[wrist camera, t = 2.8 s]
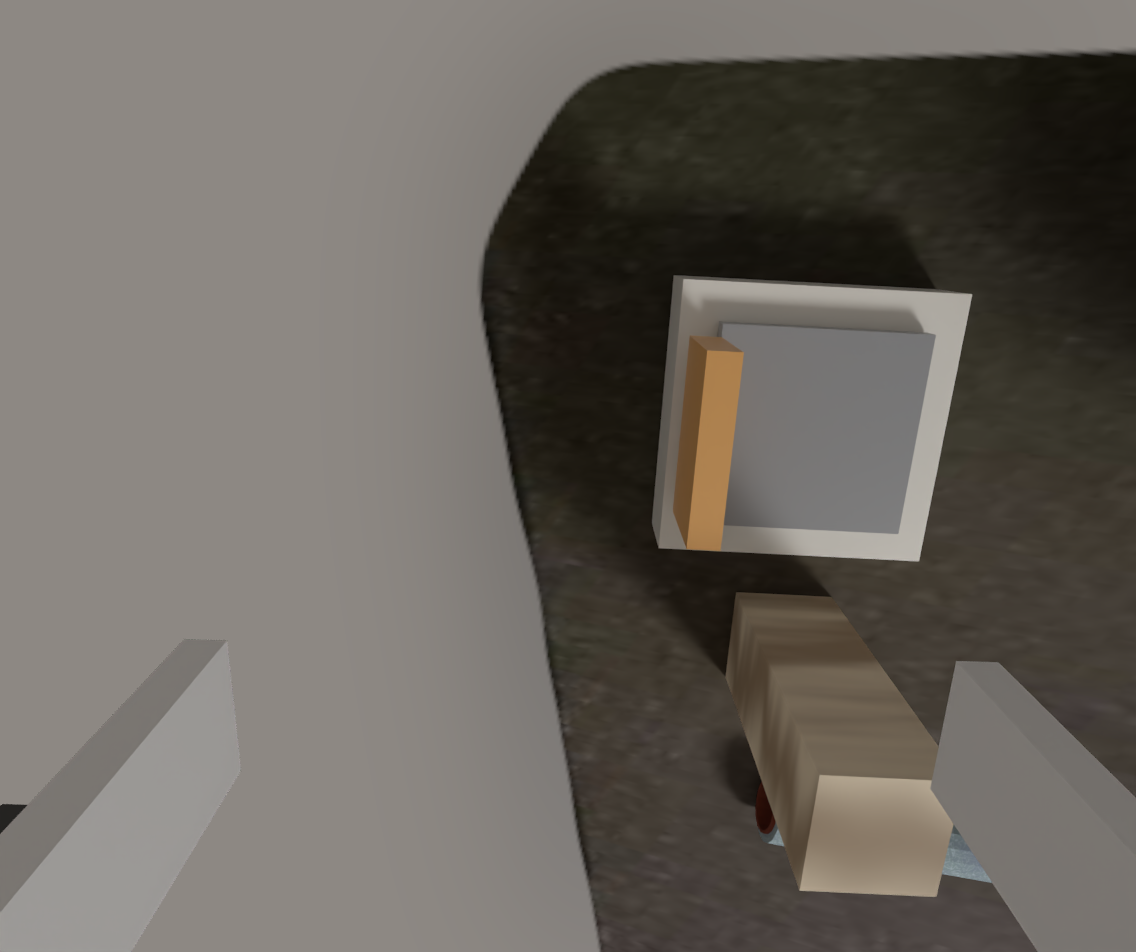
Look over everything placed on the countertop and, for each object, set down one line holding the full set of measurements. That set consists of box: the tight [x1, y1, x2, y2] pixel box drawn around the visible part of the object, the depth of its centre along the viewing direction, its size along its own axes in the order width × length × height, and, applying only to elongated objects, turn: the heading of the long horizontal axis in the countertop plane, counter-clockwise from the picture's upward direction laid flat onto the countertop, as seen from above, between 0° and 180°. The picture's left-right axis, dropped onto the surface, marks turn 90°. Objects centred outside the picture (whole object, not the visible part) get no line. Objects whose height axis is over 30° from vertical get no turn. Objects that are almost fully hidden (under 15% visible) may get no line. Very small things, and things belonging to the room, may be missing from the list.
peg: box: [726, 592, 954, 897], centre depth 31 cm, size 4×4×13 cm
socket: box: [652, 275, 972, 561], centre depth 33 cm, size 11×11×3 cm
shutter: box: [673, 321, 936, 551], centre depth 29 cm, size 8×9×5 cm
